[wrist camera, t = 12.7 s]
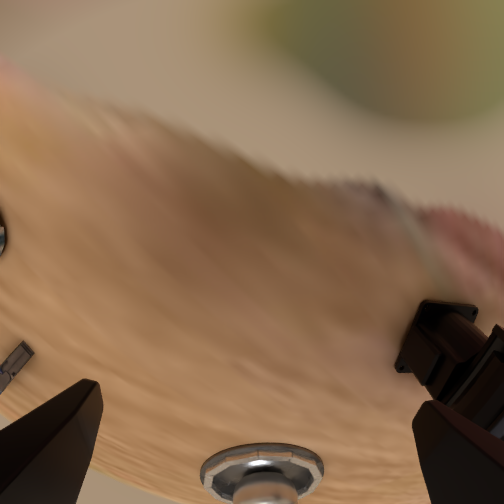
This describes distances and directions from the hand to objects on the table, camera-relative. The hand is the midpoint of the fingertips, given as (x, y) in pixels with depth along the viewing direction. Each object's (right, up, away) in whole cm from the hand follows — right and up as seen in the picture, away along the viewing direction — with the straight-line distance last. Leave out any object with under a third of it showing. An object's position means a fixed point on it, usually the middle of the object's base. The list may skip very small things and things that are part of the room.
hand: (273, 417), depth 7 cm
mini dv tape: (-23, -6, +16) cm, 29 cm away
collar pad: (0, -20, +20) cm, 28 cm away
